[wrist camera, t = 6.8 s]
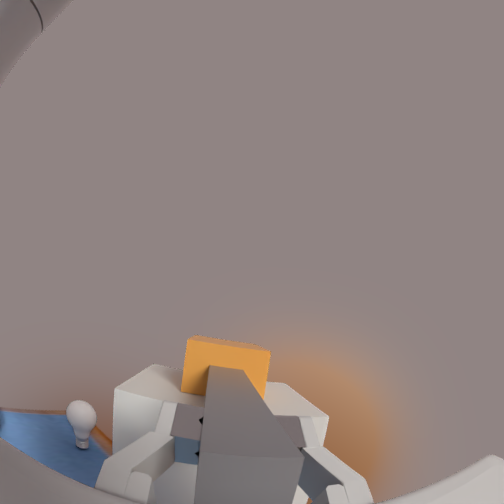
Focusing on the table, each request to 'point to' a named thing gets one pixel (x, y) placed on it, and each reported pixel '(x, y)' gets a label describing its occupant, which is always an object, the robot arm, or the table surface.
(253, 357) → the handle
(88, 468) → the table surface
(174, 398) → the cabinet
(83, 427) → the lightbulb
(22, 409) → the table surface
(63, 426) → the table surface
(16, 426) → the table surface
